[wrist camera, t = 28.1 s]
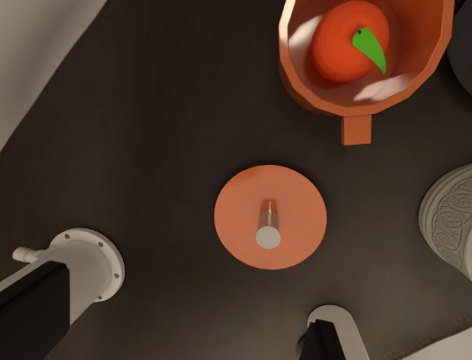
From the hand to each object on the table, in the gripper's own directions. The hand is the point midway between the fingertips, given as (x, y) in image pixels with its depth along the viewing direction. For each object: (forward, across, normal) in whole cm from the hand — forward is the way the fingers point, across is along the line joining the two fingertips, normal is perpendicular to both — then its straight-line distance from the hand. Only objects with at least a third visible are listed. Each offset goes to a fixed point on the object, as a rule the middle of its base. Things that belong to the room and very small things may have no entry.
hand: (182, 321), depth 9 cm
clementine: (+24, -9, -16) cm, 30 cm away
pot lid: (+24, -4, +5) cm, 25 cm away
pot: (+24, -8, -16) cm, 30 cm away
